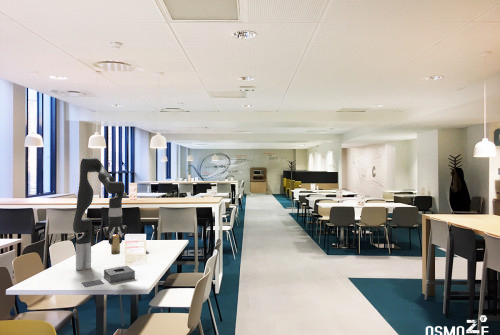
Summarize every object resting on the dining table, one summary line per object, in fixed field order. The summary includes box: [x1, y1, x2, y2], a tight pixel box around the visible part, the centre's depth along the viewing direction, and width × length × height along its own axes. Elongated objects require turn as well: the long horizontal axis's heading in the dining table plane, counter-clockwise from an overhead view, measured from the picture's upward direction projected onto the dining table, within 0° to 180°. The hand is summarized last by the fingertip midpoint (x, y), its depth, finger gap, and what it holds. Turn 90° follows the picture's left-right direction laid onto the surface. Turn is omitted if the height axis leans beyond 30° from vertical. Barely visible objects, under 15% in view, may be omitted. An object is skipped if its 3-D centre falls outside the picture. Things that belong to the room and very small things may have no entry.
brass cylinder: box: [110, 233, 121, 256], centre depth 213 cm, size 5×5×11 cm
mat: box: [81, 278, 105, 288], centre depth 204 cm, size 10×10×1 cm
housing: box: [103, 265, 136, 284], centre depth 214 cm, size 14×14×5 cm
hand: (115, 243), depth 213 cm, fingers closed on brass cylinder, 5 cm apart
